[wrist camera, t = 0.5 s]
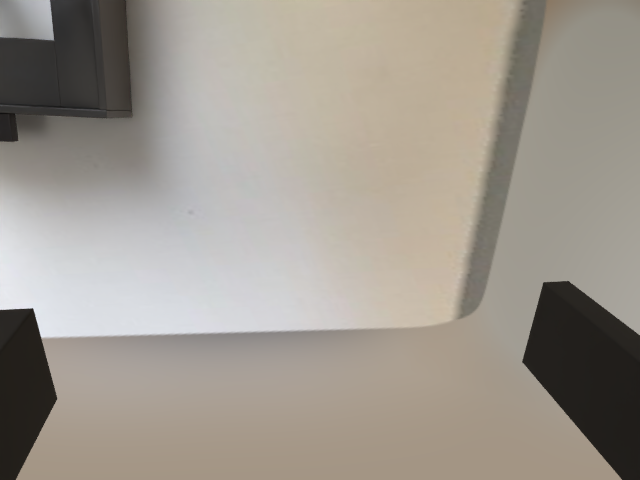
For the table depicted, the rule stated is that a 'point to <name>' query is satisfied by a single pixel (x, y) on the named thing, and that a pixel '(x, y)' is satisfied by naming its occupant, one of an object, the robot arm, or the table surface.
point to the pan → (68, 66)
